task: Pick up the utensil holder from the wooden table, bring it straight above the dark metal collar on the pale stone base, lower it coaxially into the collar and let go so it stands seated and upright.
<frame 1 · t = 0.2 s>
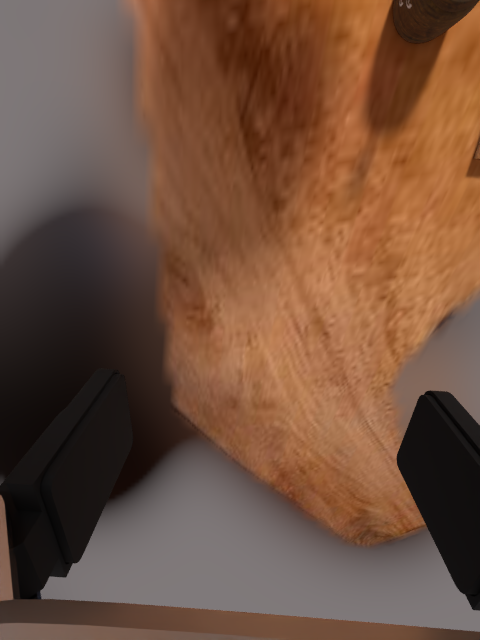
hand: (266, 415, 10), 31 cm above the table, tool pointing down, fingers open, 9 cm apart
utensil holder: (421, 7, 28), on the table
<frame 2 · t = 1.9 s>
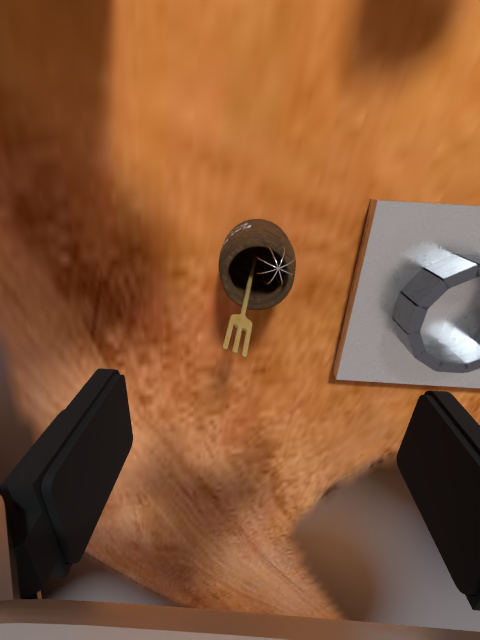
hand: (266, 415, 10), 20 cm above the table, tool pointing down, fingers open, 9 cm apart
collar stand: (440, 301, 29), on the table
utensil holder: (255, 252, 27), on the table
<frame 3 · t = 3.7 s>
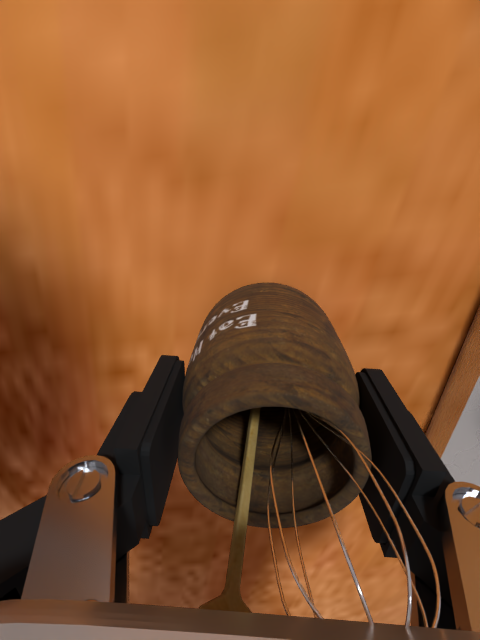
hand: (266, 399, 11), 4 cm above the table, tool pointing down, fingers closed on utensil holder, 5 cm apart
utensil holder: (263, 339, 14), on the table, touching gripper
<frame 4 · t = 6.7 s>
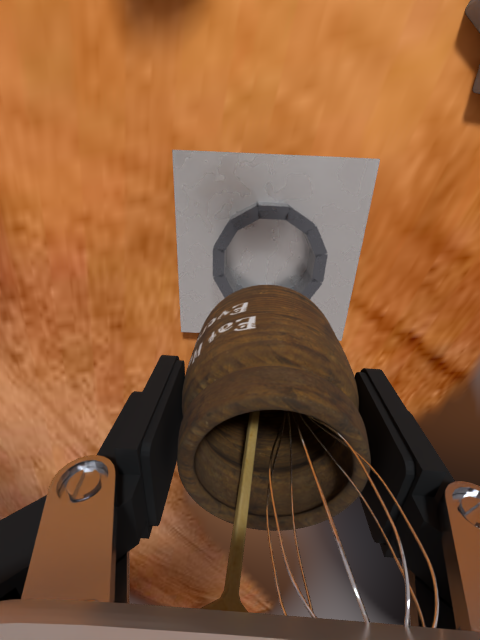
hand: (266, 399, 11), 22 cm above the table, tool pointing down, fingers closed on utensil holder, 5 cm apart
collar stand: (266, 253, 30), on the table
utensil holder: (263, 340, 14), point 18 cm above the table, touching gripper
when the fingers open (6 cm above the table, at t = 9.7 s): utensil holder stays where it is, resting on collar stand.
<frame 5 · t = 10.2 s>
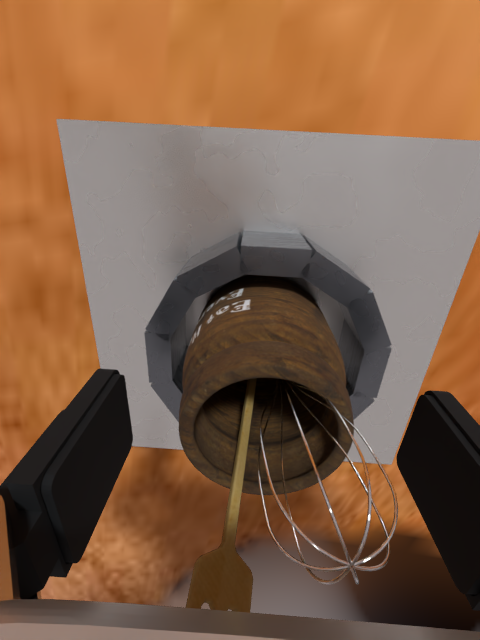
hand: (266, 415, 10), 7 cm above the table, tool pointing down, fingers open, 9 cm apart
collar stand: (262, 318, 17), on the table
utensil holder: (259, 328, 15), point 1 cm above the table, touching collar stand
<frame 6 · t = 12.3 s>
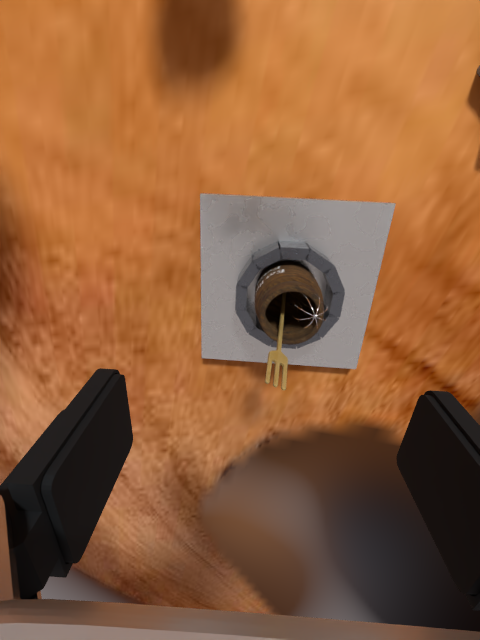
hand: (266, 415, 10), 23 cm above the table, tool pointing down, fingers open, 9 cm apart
collar stand: (285, 285, 32), on the table
utensil holder: (284, 288, 31), point 1 cm above the table, touching collar stand
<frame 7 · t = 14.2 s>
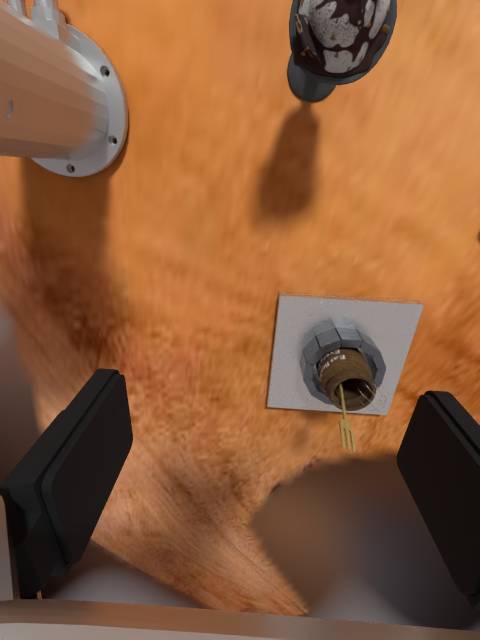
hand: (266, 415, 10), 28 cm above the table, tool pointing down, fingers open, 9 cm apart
collar stand: (335, 354, 41), on the table
sundae: (314, 69, 29), on the table
utensil holder: (336, 359, 40), point 1 cm above the table, touching collar stand
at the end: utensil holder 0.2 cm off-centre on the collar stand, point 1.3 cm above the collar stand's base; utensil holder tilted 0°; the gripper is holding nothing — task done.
